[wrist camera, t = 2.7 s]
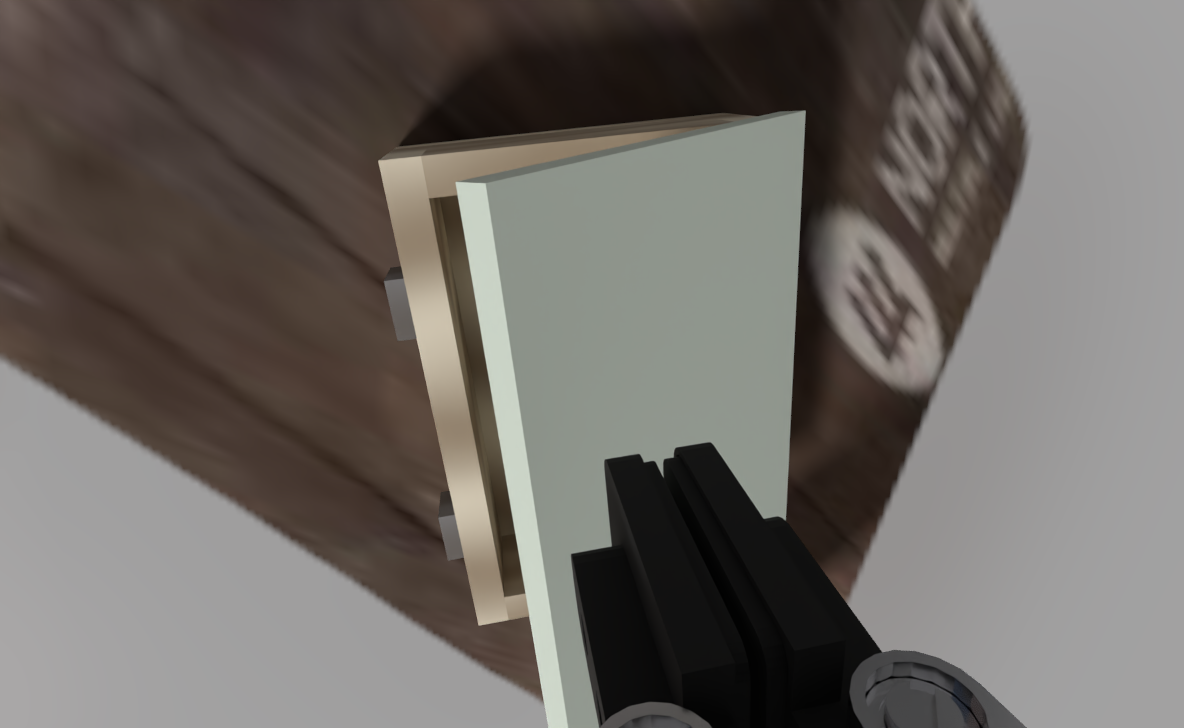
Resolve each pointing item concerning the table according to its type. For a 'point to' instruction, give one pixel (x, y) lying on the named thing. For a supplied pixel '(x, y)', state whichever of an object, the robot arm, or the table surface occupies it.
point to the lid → (633, 339)
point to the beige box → (473, 330)
